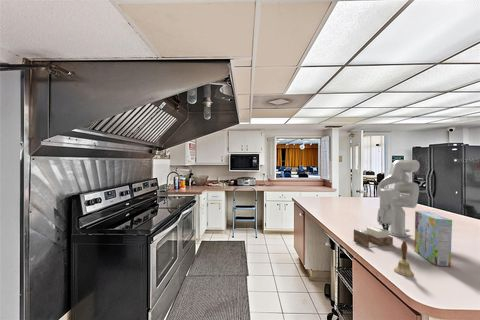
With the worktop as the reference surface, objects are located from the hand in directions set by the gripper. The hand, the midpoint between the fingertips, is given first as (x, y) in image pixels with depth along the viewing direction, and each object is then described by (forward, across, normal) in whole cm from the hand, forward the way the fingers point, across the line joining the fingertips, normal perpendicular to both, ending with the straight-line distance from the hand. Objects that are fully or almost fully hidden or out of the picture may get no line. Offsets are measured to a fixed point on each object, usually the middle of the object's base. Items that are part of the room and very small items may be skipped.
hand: (385, 232), depth 164 cm
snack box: (+7, -3, +29) cm, 30 cm away
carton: (+1, +7, 0) cm, 7 cm away
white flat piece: (+6, +4, -18) cm, 20 cm away
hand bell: (+7, +29, +39) cm, 49 cm away
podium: (+6, +10, 0) cm, 12 cm away
